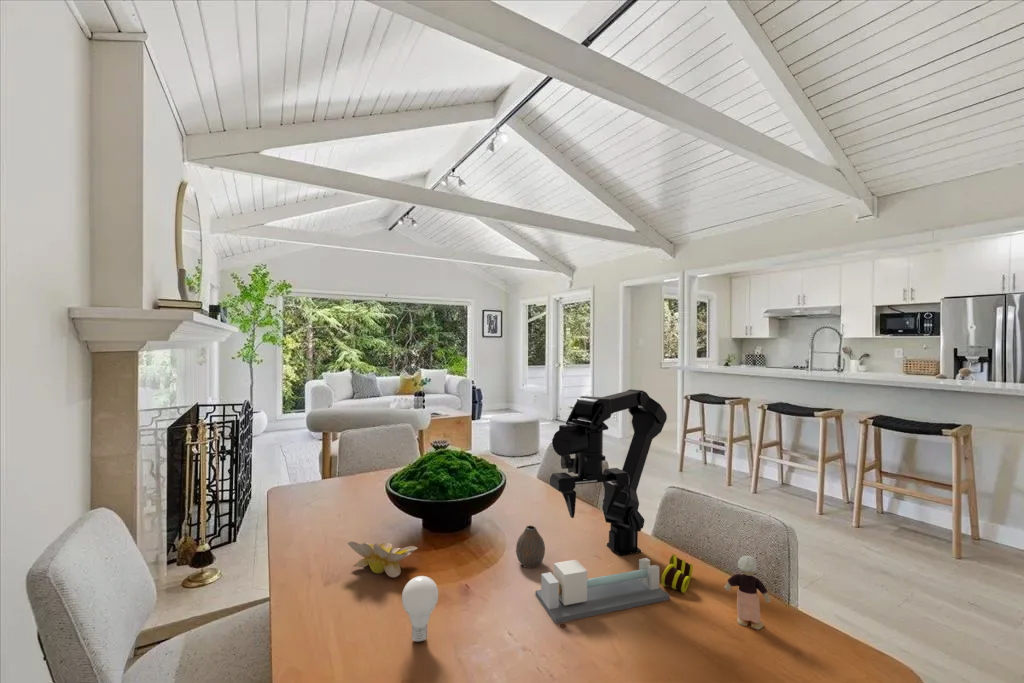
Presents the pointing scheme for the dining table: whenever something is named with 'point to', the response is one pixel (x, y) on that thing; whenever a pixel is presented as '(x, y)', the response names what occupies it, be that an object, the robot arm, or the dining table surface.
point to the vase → (530, 548)
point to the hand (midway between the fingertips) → (589, 515)
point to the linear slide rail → (604, 593)
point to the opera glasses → (677, 574)
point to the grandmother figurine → (748, 593)
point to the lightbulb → (419, 604)
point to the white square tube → (571, 581)
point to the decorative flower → (381, 557)
